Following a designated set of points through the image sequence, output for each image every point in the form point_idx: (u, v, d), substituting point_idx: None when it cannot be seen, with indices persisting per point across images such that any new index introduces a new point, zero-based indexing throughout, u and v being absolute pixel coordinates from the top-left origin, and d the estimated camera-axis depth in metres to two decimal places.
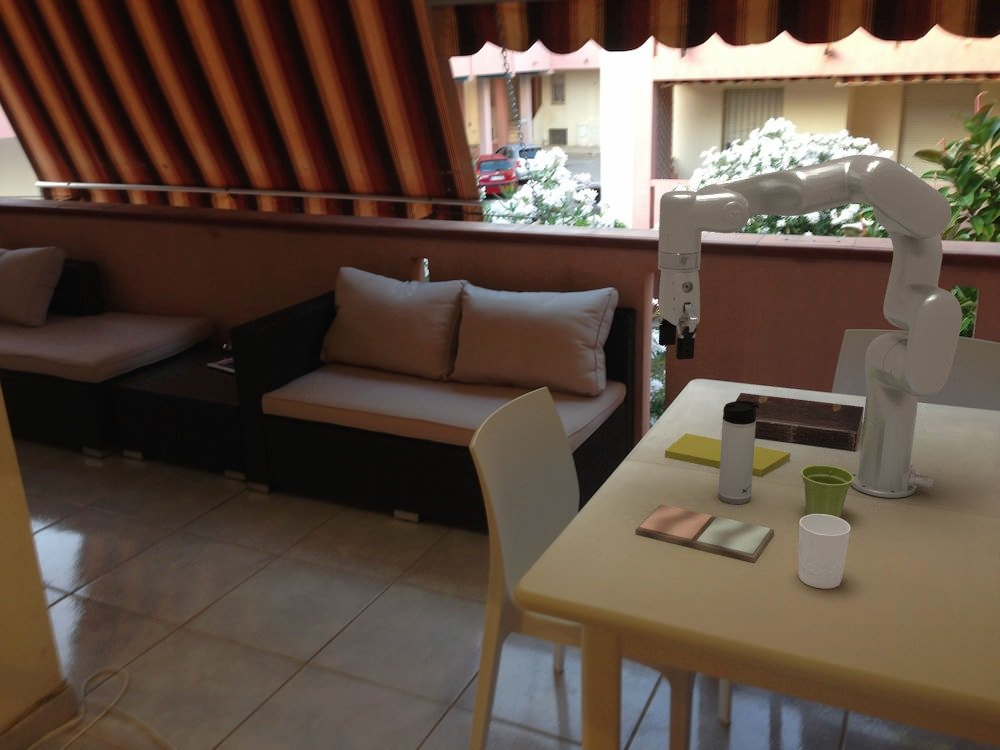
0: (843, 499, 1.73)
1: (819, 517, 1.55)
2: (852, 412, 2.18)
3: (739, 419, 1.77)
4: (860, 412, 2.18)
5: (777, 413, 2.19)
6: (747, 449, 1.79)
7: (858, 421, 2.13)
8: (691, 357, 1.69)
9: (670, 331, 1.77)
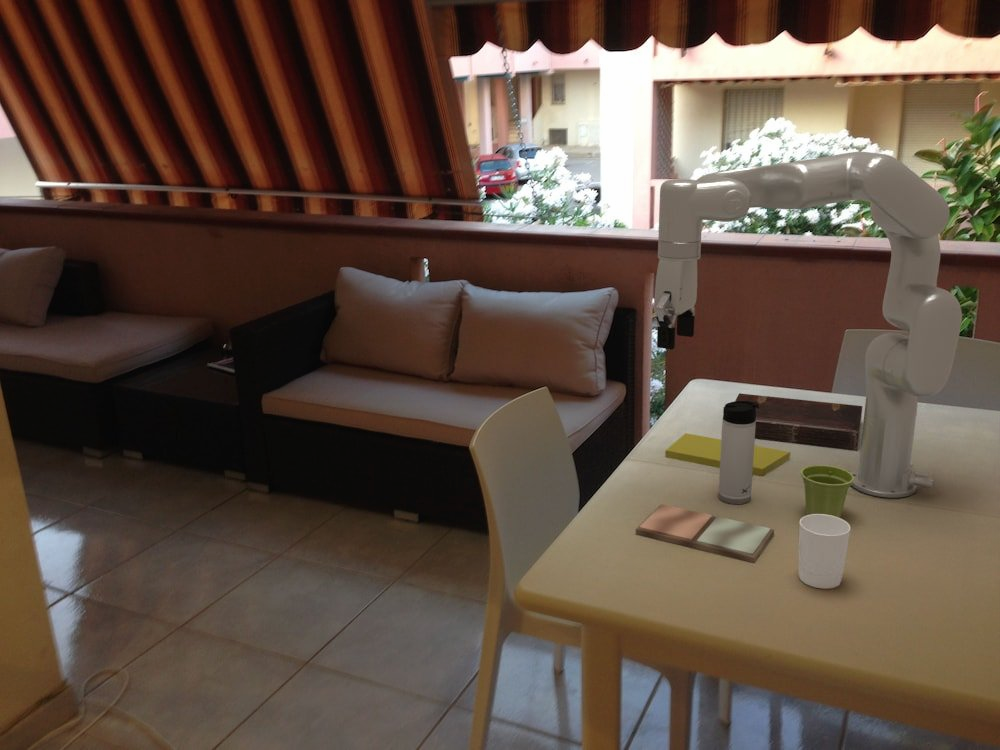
0: (843, 499, 1.73)
1: (819, 517, 1.55)
2: (851, 411, 2.19)
3: (739, 419, 1.77)
4: (860, 411, 2.19)
5: (777, 413, 2.19)
6: (747, 449, 1.79)
7: (858, 420, 2.13)
8: None
9: None
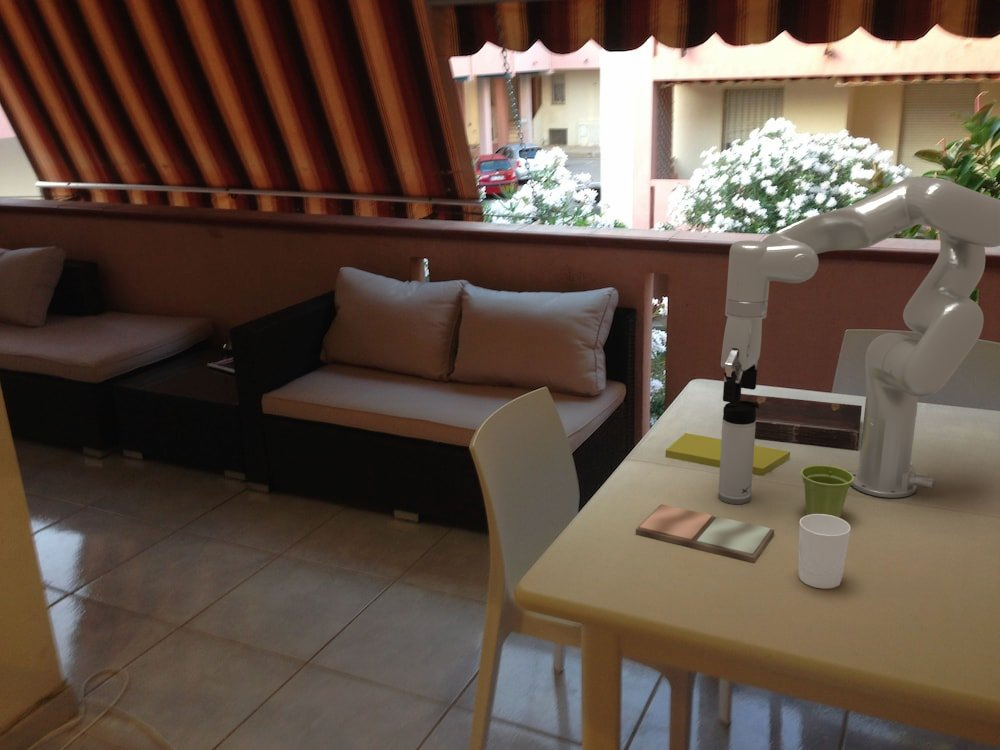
0: (843, 499, 1.73)
1: (819, 517, 1.55)
2: (851, 411, 2.19)
3: (739, 419, 1.77)
4: (859, 411, 2.19)
5: (777, 413, 2.19)
6: (747, 449, 1.79)
7: (858, 420, 2.14)
8: (741, 385, 1.83)
9: None
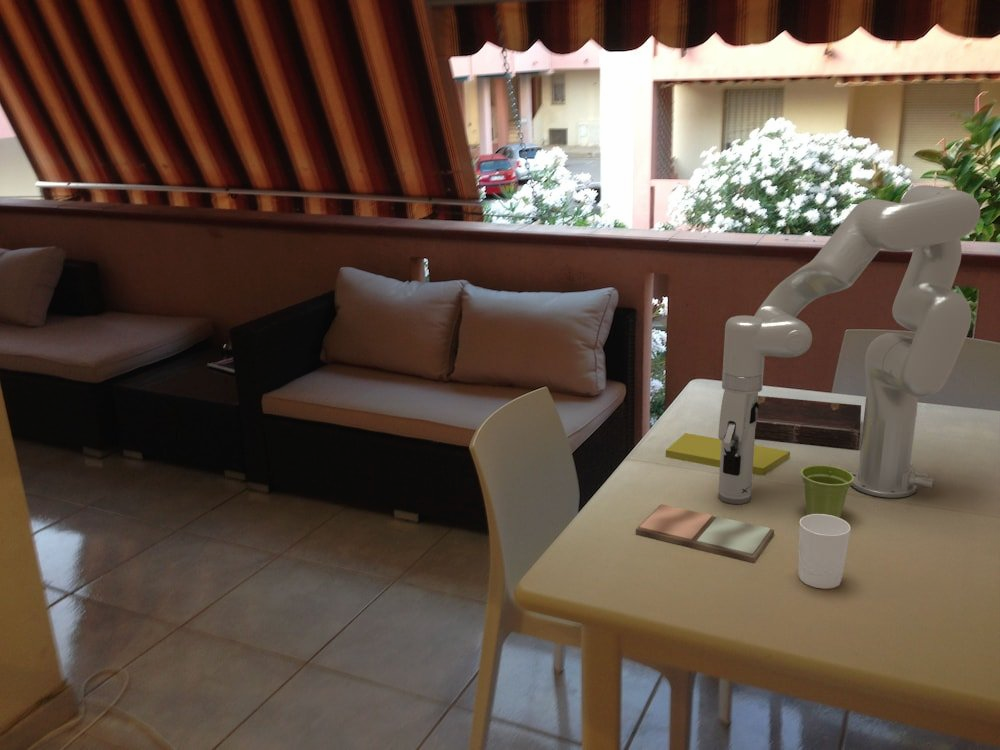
0: (843, 499, 1.73)
1: (819, 517, 1.55)
2: (850, 411, 2.19)
3: None
4: (859, 410, 2.19)
5: (777, 413, 2.19)
6: (746, 449, 1.79)
7: (859, 420, 2.14)
8: None
9: None
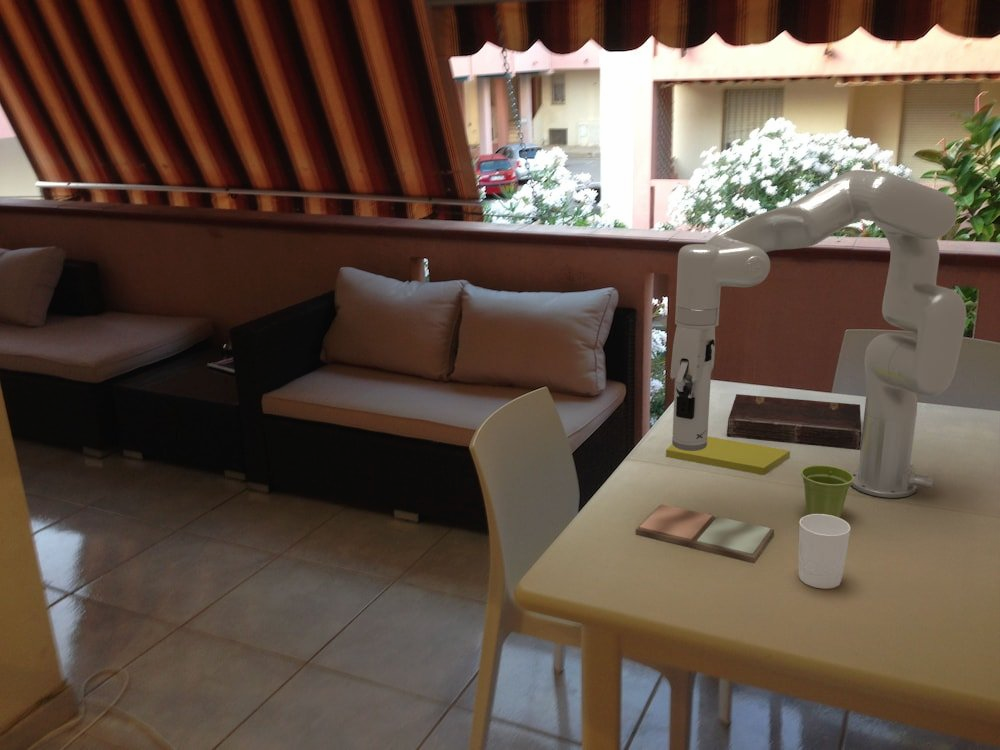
0: (843, 499, 1.73)
1: (819, 517, 1.55)
2: (850, 410, 2.20)
3: None
4: (858, 410, 2.20)
5: (777, 413, 2.19)
6: (701, 390, 1.65)
7: (859, 419, 2.14)
8: None
9: None
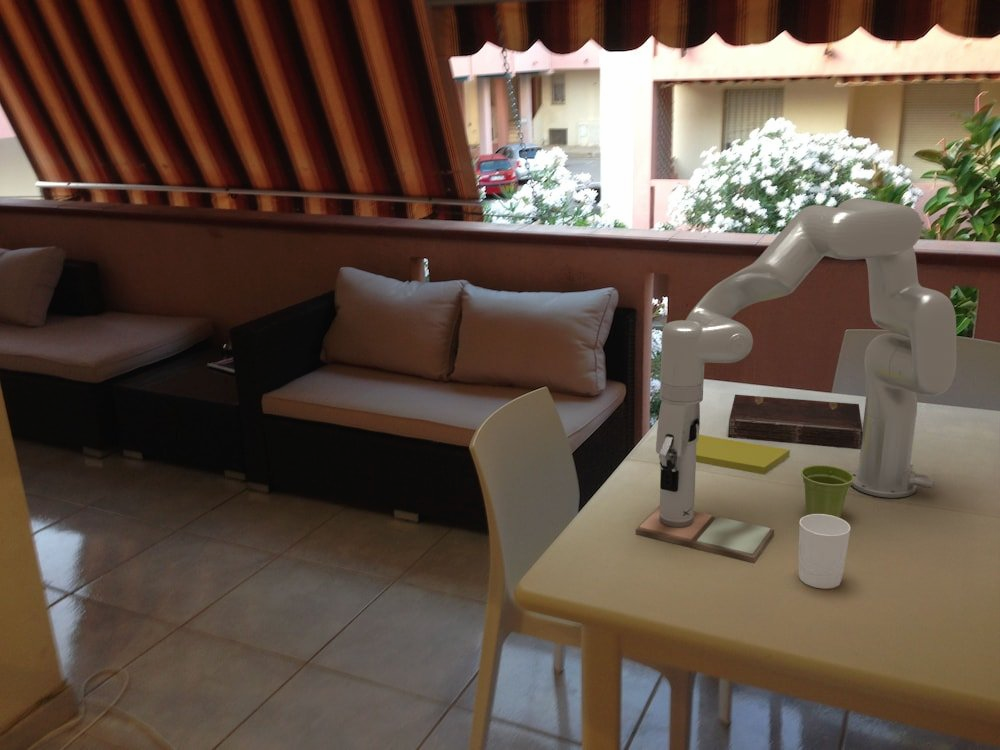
0: (843, 499, 1.73)
1: (819, 517, 1.55)
2: (849, 409, 2.20)
3: None
4: (857, 409, 2.20)
5: (778, 413, 2.19)
6: (687, 468, 1.67)
7: (859, 418, 2.15)
8: None
9: None
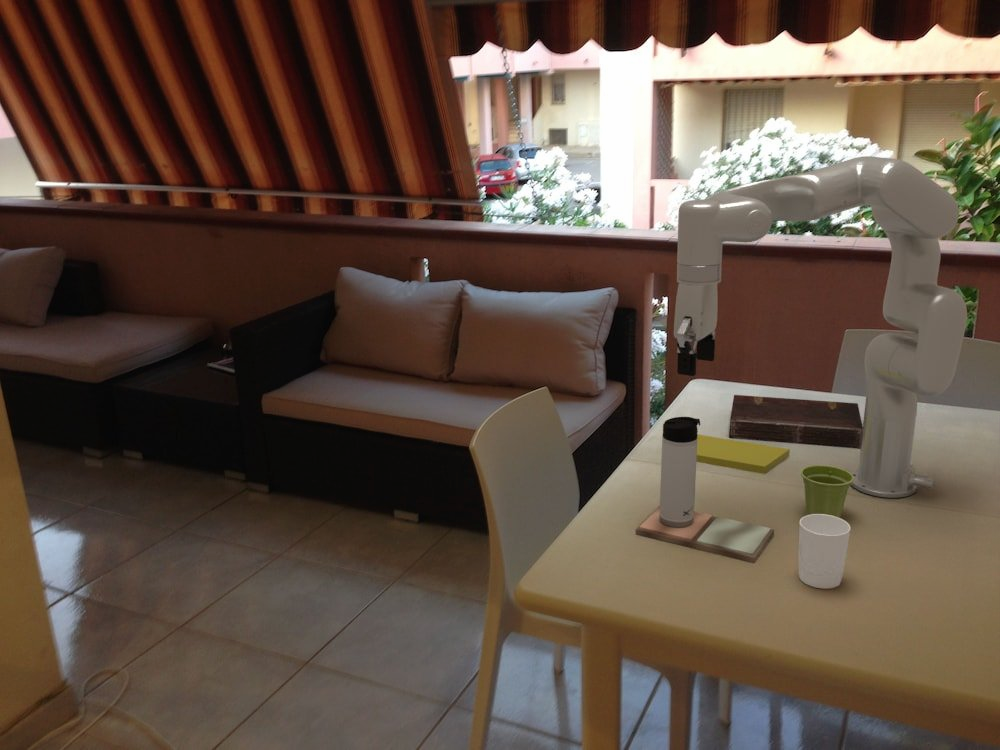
0: (843, 499, 1.73)
1: (819, 517, 1.55)
2: (849, 409, 2.20)
3: (678, 436, 1.65)
4: (857, 409, 2.20)
5: (778, 413, 2.19)
6: (687, 469, 1.67)
7: (859, 418, 2.15)
8: None
9: None
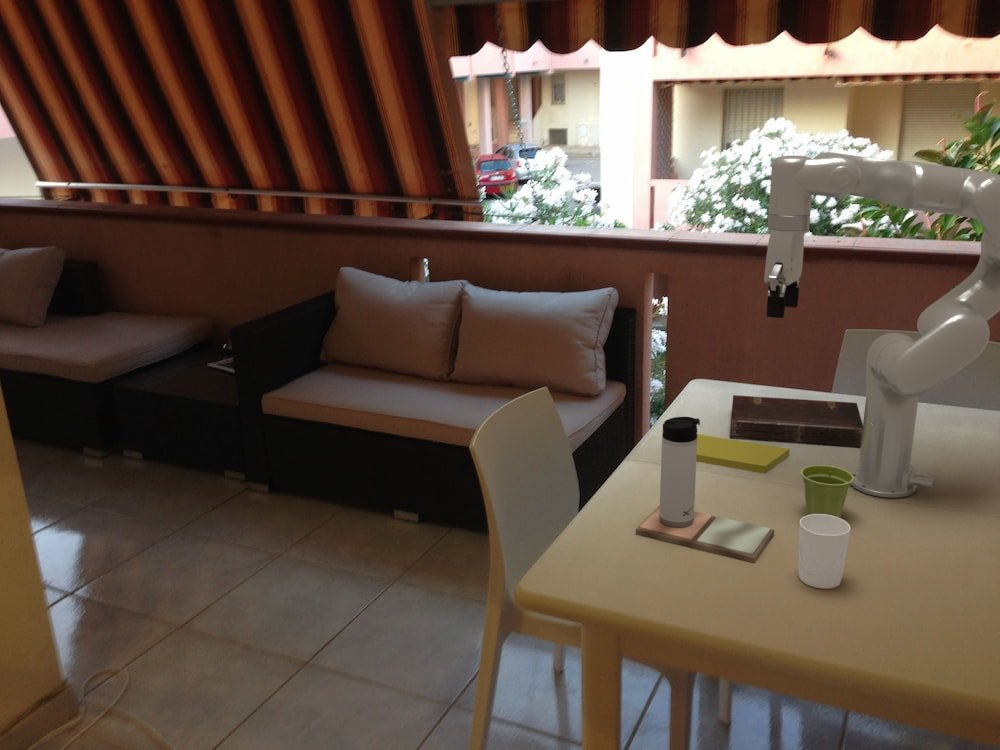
0: (843, 499, 1.73)
1: (819, 517, 1.55)
2: (848, 409, 2.21)
3: (678, 436, 1.65)
4: (856, 408, 2.21)
5: (778, 414, 2.19)
6: (687, 468, 1.67)
7: (859, 417, 2.15)
8: None
9: None
